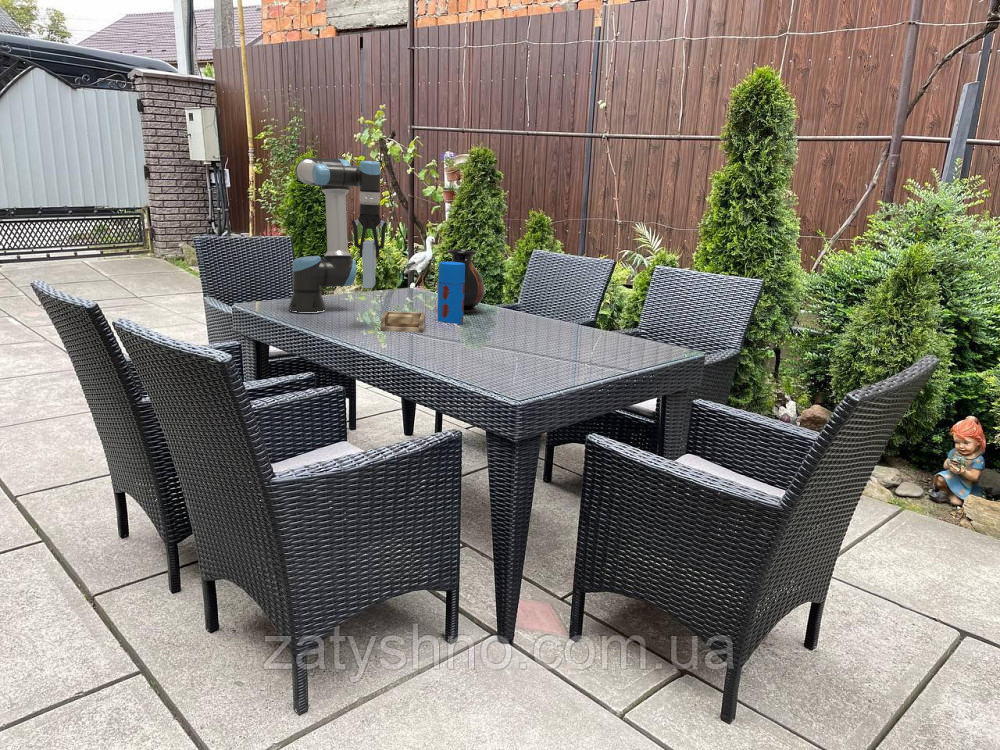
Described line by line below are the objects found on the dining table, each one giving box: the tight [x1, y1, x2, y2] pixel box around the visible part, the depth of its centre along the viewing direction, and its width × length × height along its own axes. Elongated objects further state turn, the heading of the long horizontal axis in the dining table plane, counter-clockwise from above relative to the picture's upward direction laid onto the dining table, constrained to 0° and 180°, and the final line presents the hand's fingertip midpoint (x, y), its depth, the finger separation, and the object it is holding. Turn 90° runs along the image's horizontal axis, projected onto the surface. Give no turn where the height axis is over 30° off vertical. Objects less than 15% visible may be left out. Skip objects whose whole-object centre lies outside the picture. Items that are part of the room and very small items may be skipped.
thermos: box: [437, 261, 465, 326], centre depth 309 cm, size 11×11×25 cm
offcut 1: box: [388, 314, 413, 324], centre depth 287 cm, size 9×5×3 cm, turn 93°
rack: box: [380, 310, 426, 333], centre depth 290 cm, size 16×15×6 cm
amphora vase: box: [436, 248, 485, 315], centre depth 336 cm, size 22×22×28 cm
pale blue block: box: [362, 239, 377, 289], centre depth 284 cm, size 11×4×17 cm, turn 3°
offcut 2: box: [387, 321, 419, 328], centre depth 288 cm, size 12×5×3 cm, turn 93°
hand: (369, 266), depth 285 cm, fingers closed on pale blue block, 4 cm apart
